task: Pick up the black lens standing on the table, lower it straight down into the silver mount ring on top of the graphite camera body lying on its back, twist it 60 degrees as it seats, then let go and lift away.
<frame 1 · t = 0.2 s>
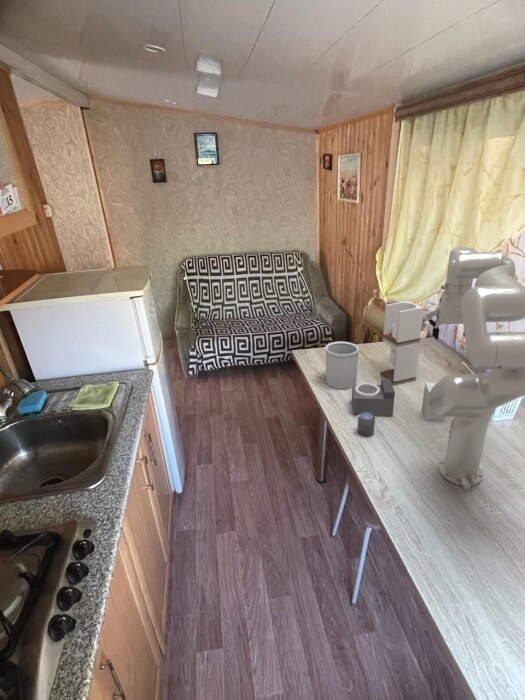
hand: (450, 337, 130), 36 cm above the table, tool pointing down, fingers open, 9 cm apart
utensil holder: (341, 382, 180), on the table
slotted white tower: (397, 378, 180), on the table
lens: (365, 431, 145), on the table
supplement box: (432, 415, 152), on the table
camera body: (371, 408, 159), on the table
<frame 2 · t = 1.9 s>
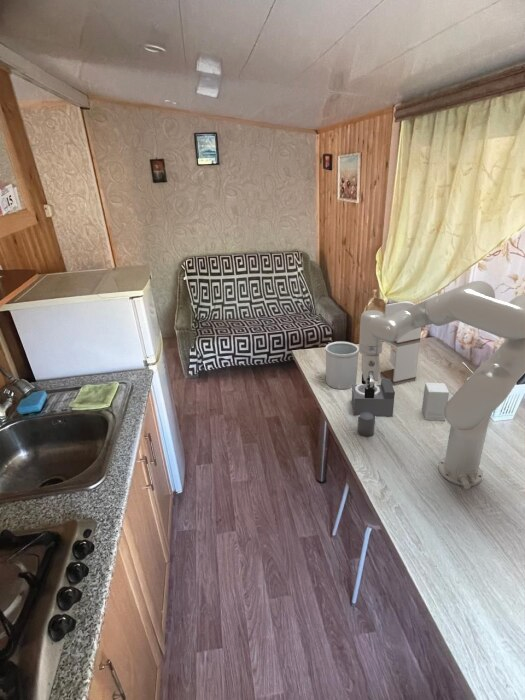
hand: (367, 390, 138), 18 cm above the table, tool pointing down, fingers open, 9 cm apart
nothing on the table moved.
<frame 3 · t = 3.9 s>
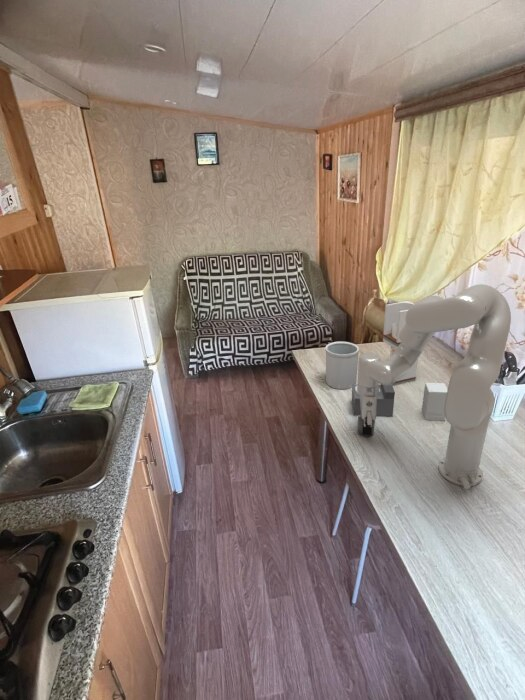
hand: (365, 428, 144), 1 cm above the table, tool pointing down, fingers closed on lens, 6 cm apart
lens: (365, 431, 145), on the table, touching gripper
everything else where it was.
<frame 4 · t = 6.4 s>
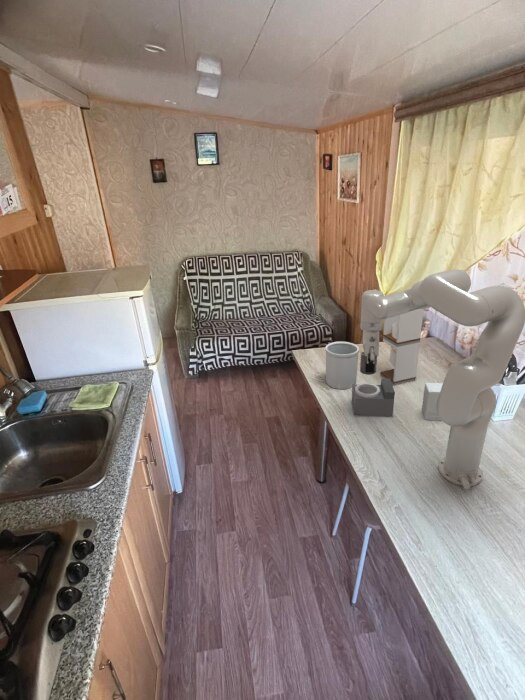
hand: (368, 367, 149), 20 cm above the table, tool pointing down, fingers closed on lens, 6 cm apart
lens: (368, 370, 150), point 18 cm above the table, touching gripper
everything else where it was.
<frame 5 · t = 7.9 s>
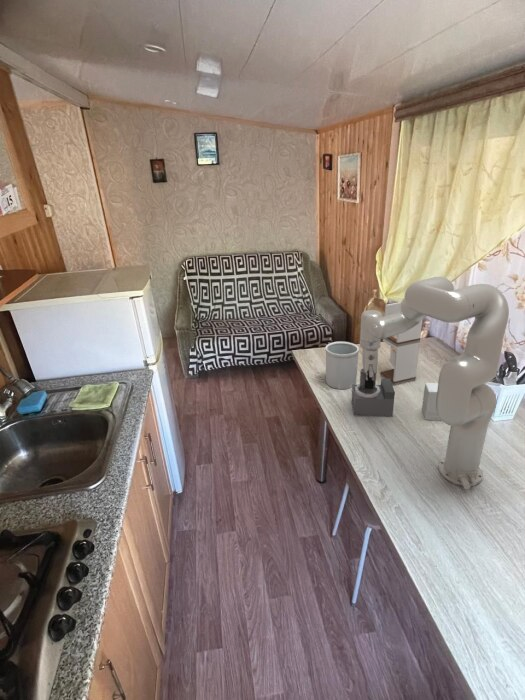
hand: (367, 383, 154), 12 cm above the table, tool pointing down, fingers closed on lens, 6 cm apart
lens: (367, 386, 155), point 10 cm above the table, touching gripper
everything else where it was.
when the fingers open (10 cm above the table, at t = 8.9 s): lens stays where it is, resting on camera body.
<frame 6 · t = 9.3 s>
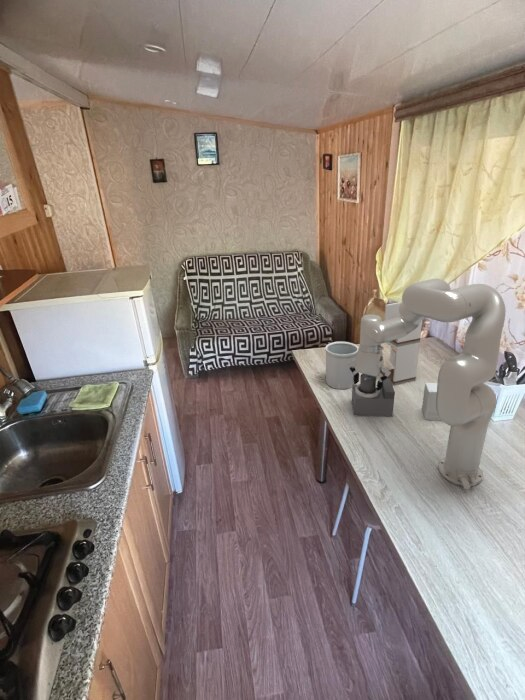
hand: (367, 385, 155), 11 cm above the table, tool pointing down, fingers open, 9 cm apart
lens: (367, 391, 156), point 8 cm above the table, touching camera body
everything else where it was.
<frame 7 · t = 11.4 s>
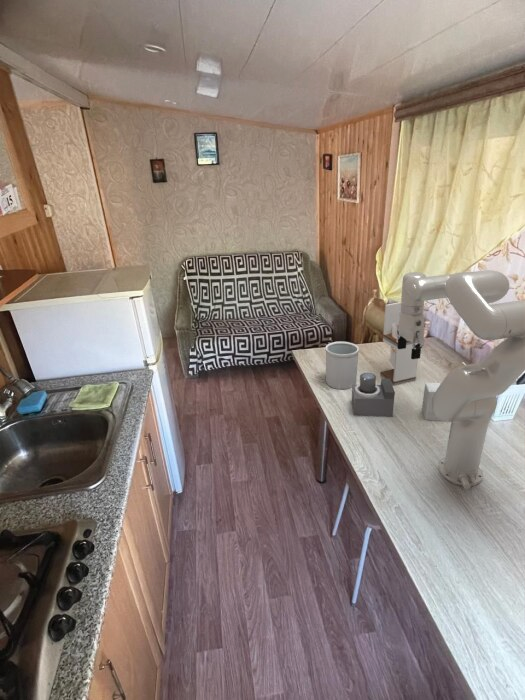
hand: (408, 353, 142), 27 cm above the table, tool pointing down, fingers open, 9 cm apart
nothing on the table moved.
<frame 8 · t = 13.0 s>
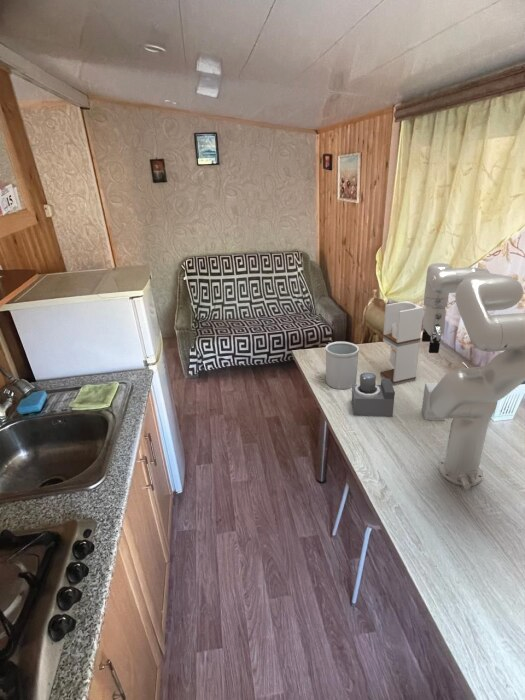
hand: (429, 346, 138), 30 cm above the table, tool pointing down, fingers open, 9 cm apart
nothing on the table moved.
at the end: lens 0.2 cm from the target spot on the camera body, point 8.1 cm above the camera body's base; lens tilted 2°; the gripper is holding nothing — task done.
